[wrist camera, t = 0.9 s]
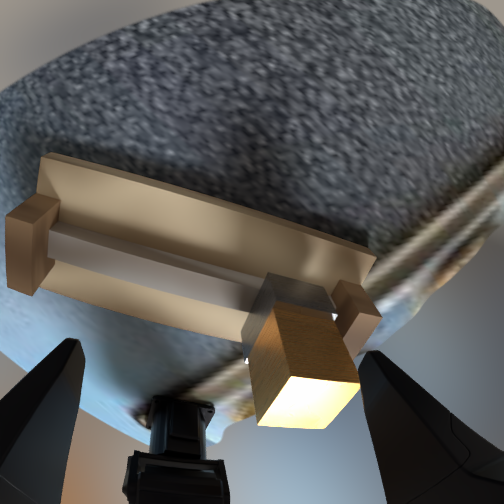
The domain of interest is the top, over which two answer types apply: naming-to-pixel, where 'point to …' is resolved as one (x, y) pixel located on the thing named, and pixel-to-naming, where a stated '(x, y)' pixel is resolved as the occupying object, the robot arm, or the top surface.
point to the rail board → (172, 252)
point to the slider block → (296, 355)
